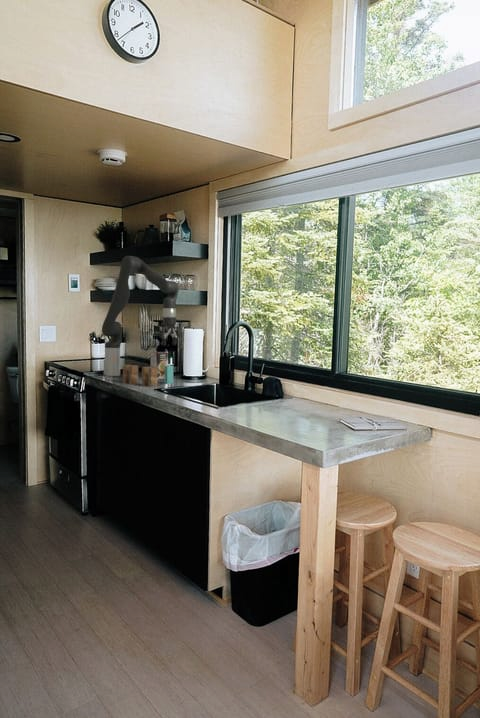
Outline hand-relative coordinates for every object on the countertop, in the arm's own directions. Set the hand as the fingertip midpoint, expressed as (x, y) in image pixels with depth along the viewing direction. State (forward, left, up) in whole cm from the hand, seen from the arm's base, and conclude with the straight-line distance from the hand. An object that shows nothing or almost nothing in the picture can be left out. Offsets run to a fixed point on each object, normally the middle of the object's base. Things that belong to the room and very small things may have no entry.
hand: (169, 345), depth 299 cm
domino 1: (-19, -14, -22) cm, 32 cm away
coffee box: (-19, +12, -22) cm, 32 cm away
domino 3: (-4, -14, -22) cm, 26 cm away
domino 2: (-14, -14, -22) cm, 30 cm away
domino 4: (+1, -14, -22) cm, 26 cm away
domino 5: (0, 0, -22) cm, 22 cm away
